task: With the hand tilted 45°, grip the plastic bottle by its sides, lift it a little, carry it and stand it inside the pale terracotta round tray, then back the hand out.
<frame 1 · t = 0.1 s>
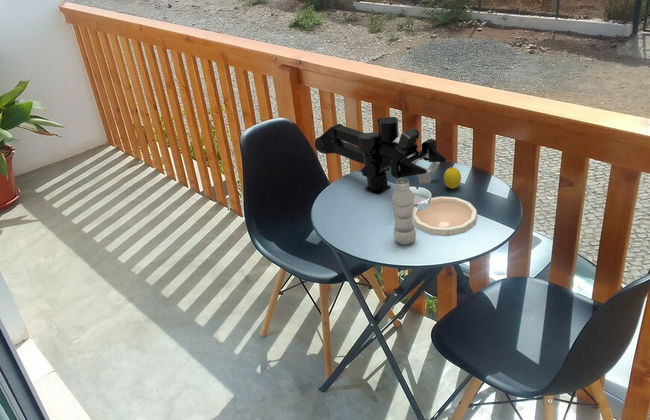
hand: (435, 165, 177), 17 cm above the table, tool horizontal, fingers open, 9 cm apart
lighter: (429, 182, 203), on the table
plastic bottle: (405, 241, 174), on the table
lemon: (452, 189, 198), on the table
round tray: (444, 217, 183), on the table
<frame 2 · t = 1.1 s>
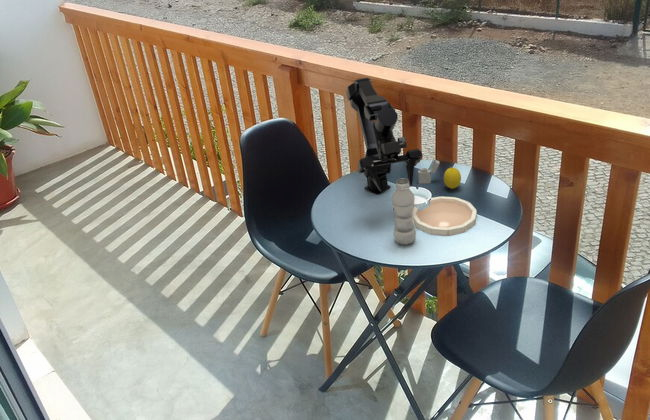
hand: (396, 188, 174), 14 cm above the table, tool tilted 45°, fingers open, 9 cm apart
nothing on the table moved.
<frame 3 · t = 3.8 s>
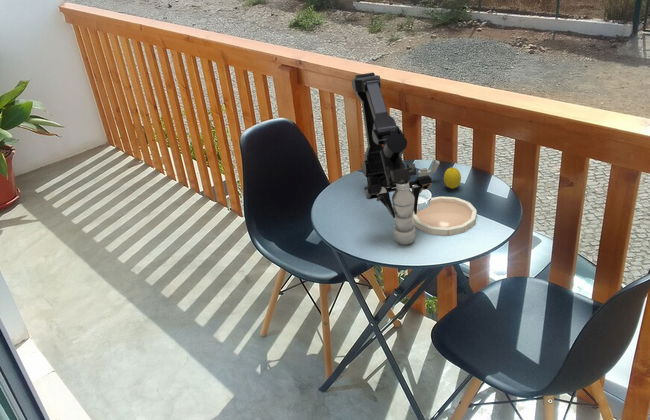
hand: (405, 216, 168), 10 cm above the table, tool tilted 45°, fingers closed on plastic bottle, 6 cm apart
plastic bottle: (405, 241, 174), on the table, touching gripper
everything else where it was.
when the fingers open (11 cm above the table, at t = 8.0 s): plastic bottle drops 1 cm, resting on round tray.
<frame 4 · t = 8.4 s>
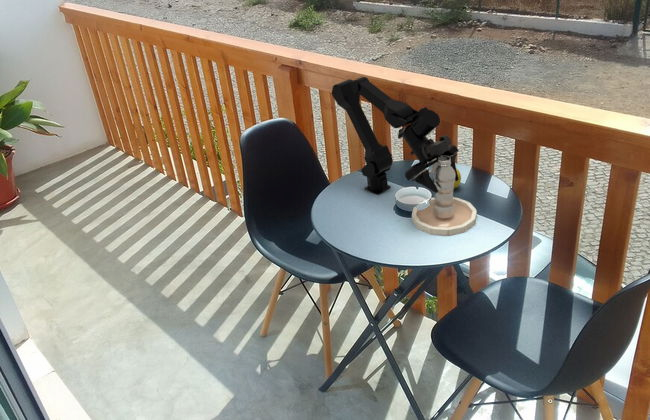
hand: (447, 186, 176), 12 cm above the table, tool tilted 45°, fingers open, 9 cm apart
plastic bottle: (443, 216, 183), resting on round tray
everything else where it was.
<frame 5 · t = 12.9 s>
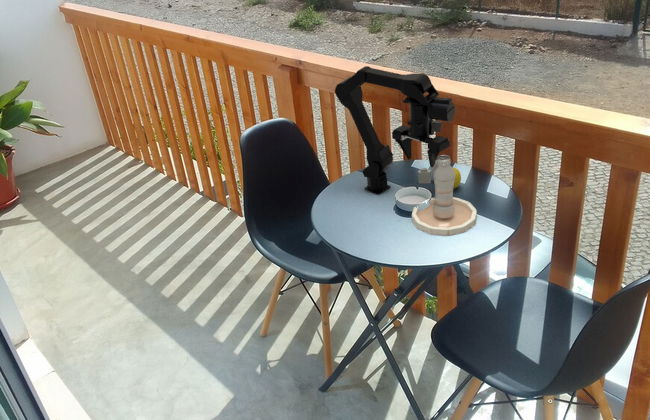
hand: (420, 162, 188), 13 cm above the table, tool pointing down, fingers open, 9 cm apart
nothing on the table moved.
at the end: plastic bottle inside the target area on the round tray (0.0 cm from its centre), point 0.4 cm above the round tray's base; plastic bottle tilted 1°; the gripper is holding nothing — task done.
